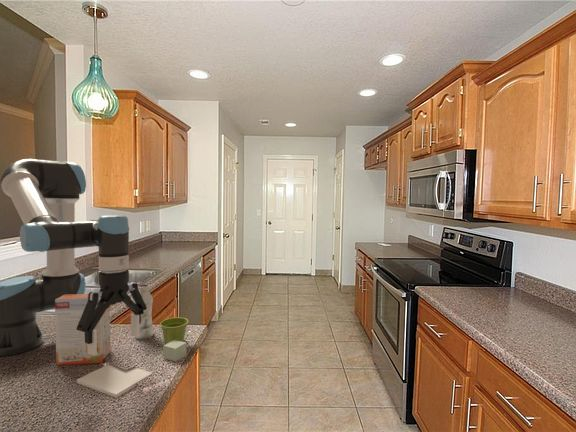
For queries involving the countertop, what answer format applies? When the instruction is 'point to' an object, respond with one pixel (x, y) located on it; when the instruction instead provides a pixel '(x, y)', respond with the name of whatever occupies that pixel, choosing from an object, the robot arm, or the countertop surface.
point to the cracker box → (78, 332)
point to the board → (113, 379)
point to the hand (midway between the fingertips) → (115, 344)
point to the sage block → (174, 350)
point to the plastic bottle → (146, 314)
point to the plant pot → (174, 329)
